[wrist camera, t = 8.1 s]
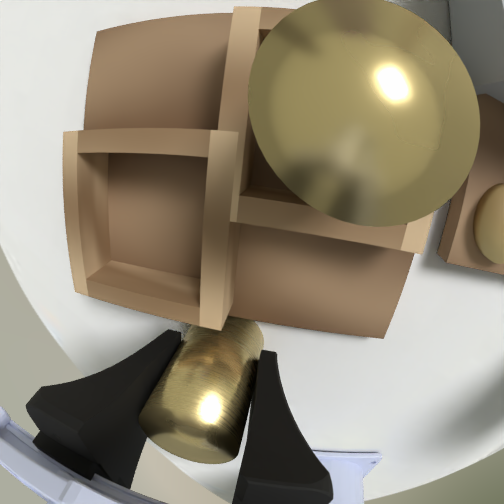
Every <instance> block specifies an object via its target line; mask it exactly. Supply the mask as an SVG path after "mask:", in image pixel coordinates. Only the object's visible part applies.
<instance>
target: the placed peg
mask: <svg viewBox="0 0 504 504" xmlns="http://www.w3.org/2000/svg"><path fill="white" fill-rule="evenodd" d="M248 107H249V116H250V120H251V124H252V129H253V132H254V134H255V137H256V140H257V143H258V145H259V147H260V149H261V151H262V153H263V155H264V157H265V159H266V161H267V162H268V163H269V165H270V166H271V168H272V169H273V171H274V172H275V174H276V175H277V176H278V177H279V178H280V179H281V181H282V182H283V183H284V184H285V185H286V186H287V187H288V188H289V189H290V190H291V191H292V192H293V193H295V194H296V195H297V196H298V197H299V198H300V199H302V200H303V201H305V202H306V203H307V204H309V205H310V206H312V207H313V208H315V209H317V210H319V211H321V212H322V213H324V214H326V215H328V216H331V217H333V218H336V219H338V220H341V221H344V222H348V223H352V224H356V225H362V226H370V227H389V226H396V225H402V224H406V223H409V222H413V221H416V220H418V219H420V218H423V217H425V216H427V215H429V214H431V213H432V212H434V211H435V210H437V209H439V208H440V207H441V206H442V205H444V204H445V203H446V202H447V201H448V200H449V199H451V198H452V196H453V195H454V194H455V193H456V192H457V191H458V190H459V188H460V187H461V185H462V184H463V182H464V181H465V179H466V178H467V176H468V174H469V172H470V170H471V167H472V165H473V163H474V160H475V156H476V153H477V149H478V143H479V138H480V114H479V106H478V101H477V96H476V92H475V89H474V86H473V83H472V80H471V78H470V76H469V73H468V71H467V69H466V67H465V65H464V64H463V62H462V60H461V59H460V57H459V55H458V54H457V52H456V51H455V50H454V49H453V47H452V46H451V45H450V43H449V42H448V41H447V40H446V39H445V38H444V37H443V36H442V35H441V34H440V33H439V32H438V31H437V30H436V29H435V28H434V27H432V26H431V25H430V24H429V23H427V22H426V21H425V20H424V19H422V18H420V17H419V16H417V15H416V14H414V13H413V12H411V11H409V10H407V9H405V8H403V7H401V6H398V5H396V4H393V3H390V2H387V1H384V0H317V1H314V2H311V3H308V4H306V5H304V6H302V7H300V8H298V9H296V10H294V11H293V12H291V13H290V14H289V15H287V16H286V17H284V18H283V19H282V20H281V21H280V22H279V23H278V24H277V25H276V26H275V27H274V28H273V29H272V30H271V31H270V32H269V34H268V35H267V36H266V38H265V39H264V40H263V42H262V44H261V46H260V48H259V50H258V51H257V53H256V56H255V59H254V62H253V64H252V67H251V72H250V77H249V82H248Z"/></svg>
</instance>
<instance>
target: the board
mask: <svg viewBox="0 0 504 504" xmlns="http://www.w3.org/2000/svg"><path fill="white" fill-rule="evenodd" d="M476 96H477V101H478V106H479V114H480V138H479V143H478V149H477V153H476V156H475V160H474V163H473V165H472V167H471V170H470V172H469V174H468V176H467V178H466V179H465V181H464V182H463V184H462V185H461V187H460V188H459V190H458V191H457V192H456V193H455V194H454V195H453V196H452V199H451V203H450V208H449V212H448V216H447V220H446V224H445V227H444V231H443V235H442V238H441V242H440V245H439V248H438V252H437V254H438V255H439V256H440V257H441V258H442V259H443V260H444V261H445V262H446V263H450V264H455V265H460V266H465V267H469V268H474V269H479V270H484V271H489V272H493V273H498V274H502V275H504V103H502V102H501V101H499V100H497V99H495V98H493V97H491V96H490V95H488V94H486V93H485V94H479V95H476Z"/></svg>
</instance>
